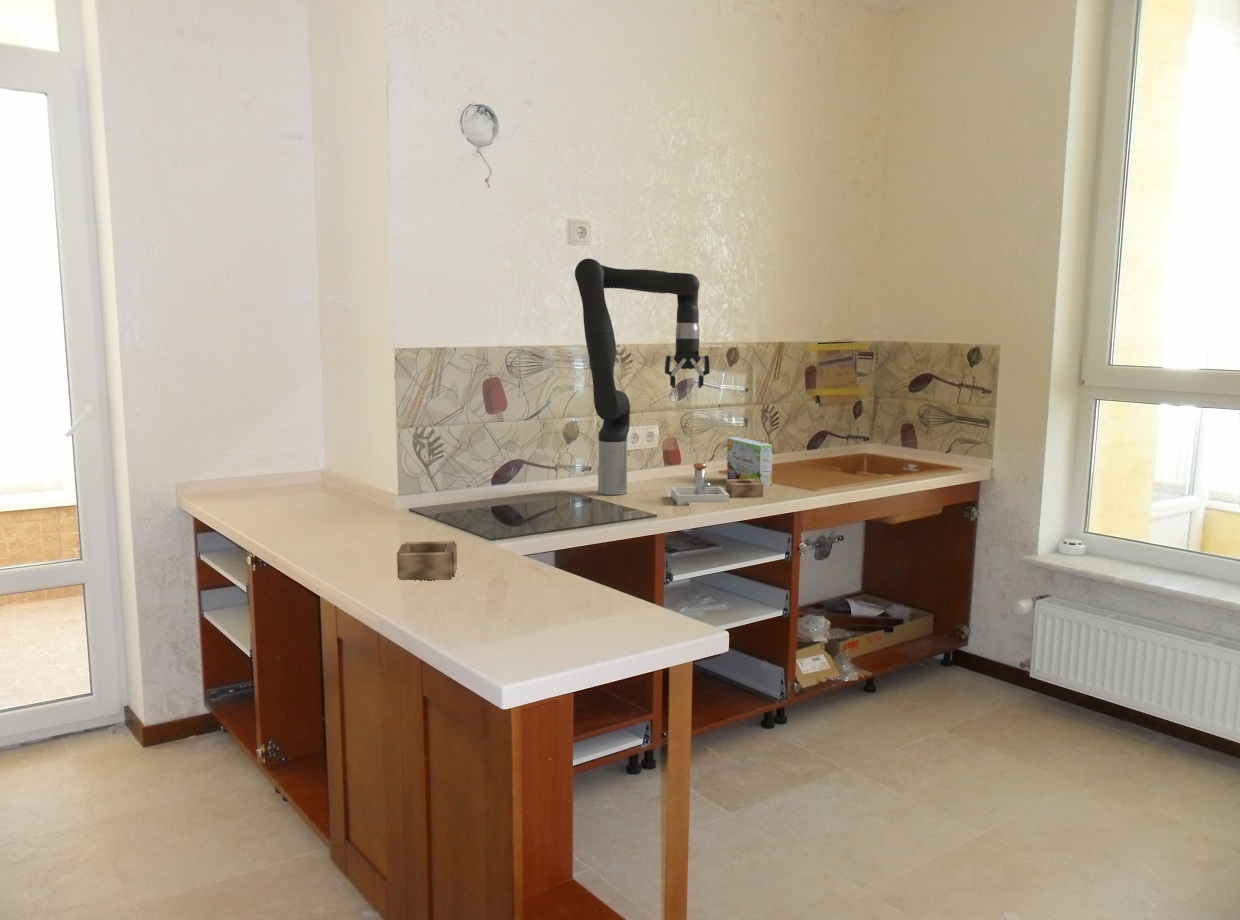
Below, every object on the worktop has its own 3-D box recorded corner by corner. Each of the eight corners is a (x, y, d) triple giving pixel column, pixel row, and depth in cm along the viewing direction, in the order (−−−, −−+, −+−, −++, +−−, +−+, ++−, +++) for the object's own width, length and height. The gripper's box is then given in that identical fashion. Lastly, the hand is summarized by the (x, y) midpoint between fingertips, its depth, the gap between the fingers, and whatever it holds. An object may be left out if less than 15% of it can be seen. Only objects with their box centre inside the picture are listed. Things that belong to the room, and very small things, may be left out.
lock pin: (694, 499, 298) (694, 464, 296) (692, 497, 302) (692, 462, 300) (706, 499, 298) (707, 464, 297) (704, 497, 302) (705, 462, 301)
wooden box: (731, 500, 300) (731, 484, 299) (725, 494, 310) (725, 479, 309) (763, 500, 301) (763, 484, 300) (755, 494, 311) (756, 478, 310)
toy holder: (396, 587, 204) (395, 555, 203) (404, 572, 216) (403, 542, 215) (453, 586, 205) (452, 554, 204) (457, 571, 217) (457, 541, 216)
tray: (677, 505, 293) (677, 495, 292) (670, 496, 306) (671, 487, 306) (729, 504, 294) (729, 494, 294) (720, 495, 308) (720, 486, 307)
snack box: (725, 479, 338) (726, 437, 336) (739, 478, 341) (740, 436, 338) (758, 489, 319) (759, 444, 317) (772, 488, 322) (774, 443, 319)
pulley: (697, 496, 307) (697, 485, 306) (693, 492, 314) (694, 481, 313) (719, 496, 307) (719, 485, 307) (715, 492, 314) (715, 481, 314)
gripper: (667, 337, 303) (666, 388, 305) (711, 337, 304) (710, 388, 307) (663, 336, 310) (663, 387, 313) (707, 336, 312) (706, 386, 314)
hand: (686, 387), depth 310 cm, fingers open, 8 cm apart
